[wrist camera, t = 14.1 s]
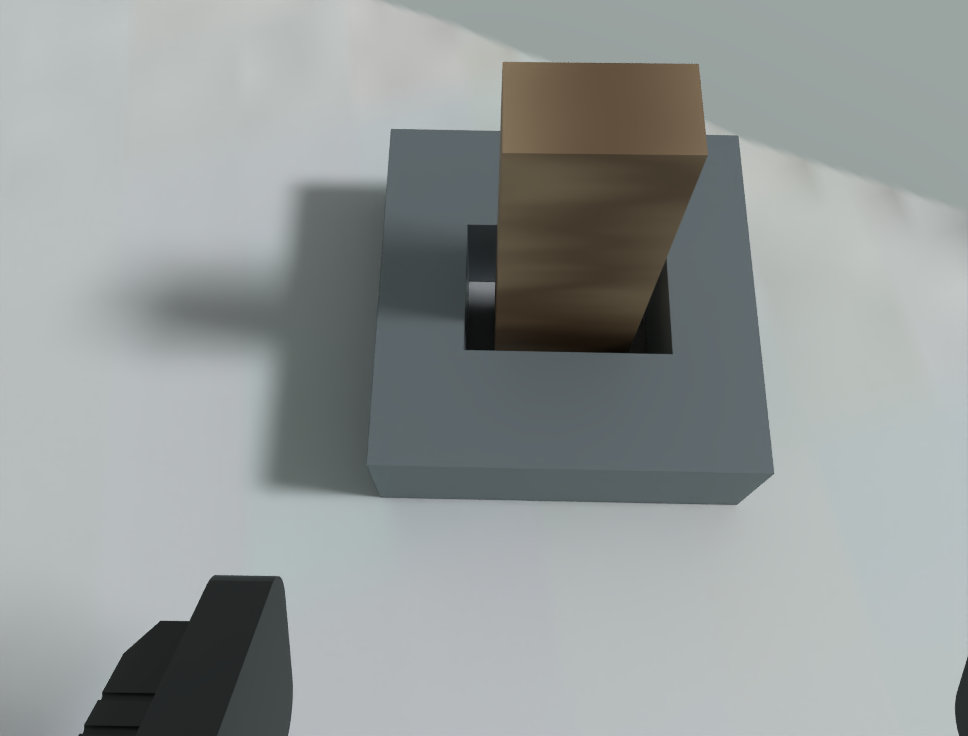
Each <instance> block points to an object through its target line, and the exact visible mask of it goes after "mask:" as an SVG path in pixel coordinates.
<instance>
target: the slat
mask: <svg viewBox="0 0 968 736" xmlns="http://www.w3.org/2000/svg"><path fill="white" fill-rule="evenodd" d="M707 156H708V151H707V141H706V132H705V122H704V113H703V103H702V92H701V82H700V74H699V64H644V63H547V62H503V69H502V99H501V129H500V159H499V189H498V219H497V248H496V278H495V308H494V351H535V352H584V353H628V352H629V350H630V347H631V345H632V342H633V340H634V337H635V335H636V332H637V330H638V327H639V325H640V322H641V320H642V317H643V315H644V312H645V310H646V308H647V305H648V303H649V300H650V298H651V295H652V293H653V290H654V288H655V285H656V283H657V280H658V278H659V275H660V273H661V270H662V268H663V265H664V263H665V260H666V258H667V255H668V253H669V250H670V248H671V246H672V243H673V241H674V238H675V236H676V233H677V231H678V228H679V226H680V223H681V221H682V218H683V216H684V213H685V211H686V208H687V206H688V203H689V201H690V198H691V196H692V193H693V191H694V188H695V186H696V184H697V181H698V179H699V176H700V174H701V171H702V169H703V166H704V164H705V161H706V159H707Z"/></svg>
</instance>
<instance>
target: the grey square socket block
mask: <svg viewBox="0 0 968 736" xmlns="http://www.w3.org/2000/svg"><path fill="white" fill-rule="evenodd" d="M706 141H707V151H708V156H707V159H706V161H705V164H704V166H703V169H702V171H701V174H700V176H699V179H698V181H697V184H696V186H695V188H694V191H693V193H692V196H691V198H690V201H689V203H688V206H687V208H686V211H685V213H684V216H683V218H682V221H681V223H680V226H679V228H678V231H677V233H676V236H675V238H674V241H673V243H672V246H671V248H670V250H669V253H668V255H667V258H666V260H665V263H664V265H663V268H662V270H661V273H660V275H659V278H658V280H657V283H656V285H655V288H654V290H653V293H652V295H651V298H650V300H649V303H648V305H647V308H646V310H645V319H646V337H647V354H634V353H584V352H535V351H485V350H467V329H468V296H469V281H495V278H496V248H497V219H498V189H499V159H500V131H468V130H416V129H391V135H390V149H389V163H388V177H387V190H386V204H385V218H384V232H383V245H382V259H381V273H380V287H379V301H378V314H377V328H376V342H375V356H374V369H373V383H372V397H371V411H370V424H369V438H368V452H367V467H368V470H369V472H370V474H371V476H372V479H373V481H374V483H375V485H376V487H377V490H378V492H379V494H380V496H381V497H395V498H442V499H490V500H538V501H586V502H634V503H682V504H730V505H737V504H738V503H740V502H741V501H742V500H743V499H744V498H746V497H747V496H748V495H749V494H750V493H752V492H753V491H754V490H755V489H756V488H758V487H759V486H760V485H761V484H762V483H764V482H765V481H766V480H767V479H768V478H770V477H771V476H772V475H773V474H774V468H773V458H772V449H771V440H770V430H769V421H768V411H767V402H766V393H765V383H764V374H763V364H762V355H761V345H760V336H759V327H758V317H757V308H756V298H755V289H754V280H753V270H752V261H751V251H750V242H749V232H748V223H747V214H746V204H745V195H744V185H743V176H742V167H741V157H740V148H739V138H738V136H729V135H706Z"/></svg>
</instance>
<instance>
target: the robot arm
mask: <svg viewBox="0 0 968 736" xmlns="http://www.w3.org/2000/svg"><path fill="white" fill-rule="evenodd" d="M292 699H293V681H292V668H291V657H290V645H289V634H288V622H287V611H286V599H285V589H284V584H283V581H282V579H281V577H279V576H234V575H214V576H213V577H212V578H211V579H210V580H209V582H208V584H207V585H206V588H205V590H204V592H203V594H202V596H201V598H200V600H199V602H198V604H197V607H196V609H195V611H194V613H193V615H192V617H191V619H190V621H160V622H159V623H158V624H157V625H155V626H154V627H153V628H152V629H151V630H150V631H149V632H147V633H146V634H145V635H144V636H143V637H142V638H141V639H139V640H138V641H137V642H136V643H135V644H134V645H133V646H132V647H130V648H129V649H128V650H127V651H126V652H125V653H124V654H123V656H122V657H121V659H120V661H119V663H118V665H117V666H116V668H115V670H114V672H113V674H112V676H111V677H110V679H109V681H108V683H107V685H106V686H105V688H104V690H103V692H102V699H101V700H98V701H97V703H96V705H95V706H94V708H93V710H92V712H91V714H90V716H89V717H88V719H87V721H86V723H85V725H84V732H83V734H79V736H288V733H289V727H290V721H291V712H292ZM955 716H956V724H957V729H958V733H959V736H968V658H967V661H966V664H965V668H964V671H963V674H962V678H961V681H960V684H959V687H958V691H957V695H956V701H955Z"/></svg>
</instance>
